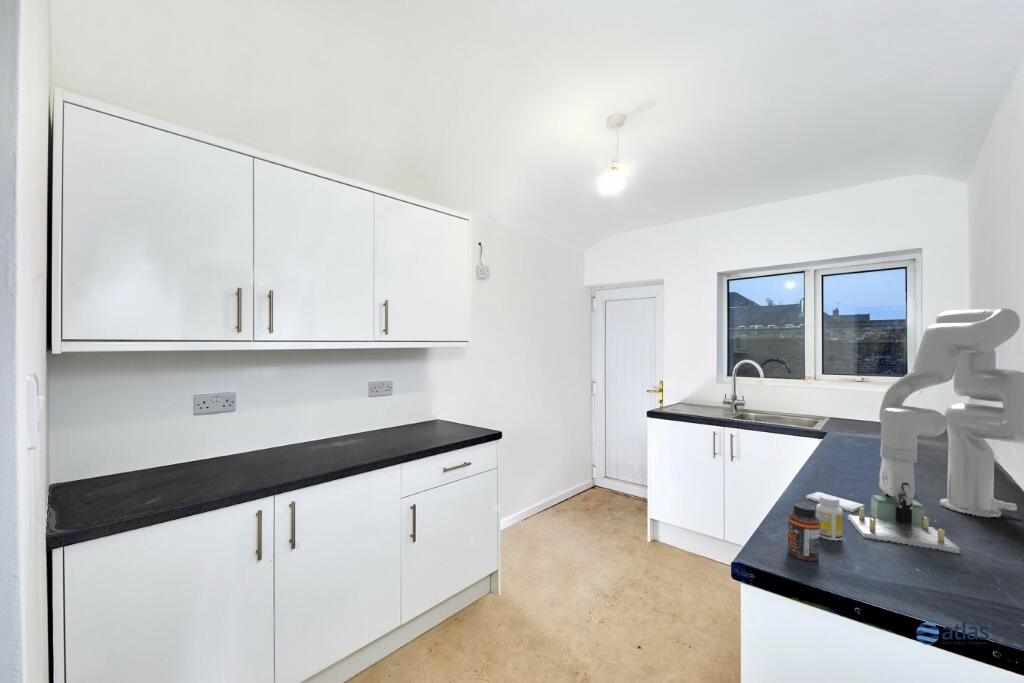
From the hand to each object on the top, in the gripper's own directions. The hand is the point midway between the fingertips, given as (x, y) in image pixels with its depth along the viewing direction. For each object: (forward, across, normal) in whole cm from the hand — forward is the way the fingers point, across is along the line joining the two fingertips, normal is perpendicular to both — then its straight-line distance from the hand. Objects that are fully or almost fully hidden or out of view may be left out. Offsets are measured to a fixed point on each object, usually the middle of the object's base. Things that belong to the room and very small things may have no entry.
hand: (896, 516), depth 120 cm
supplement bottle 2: (+2, +21, -20) cm, 29 cm away
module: (+1, 0, 0) cm, 1 cm away
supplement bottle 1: (+1, +36, -28) cm, 46 cm away
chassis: (+1, +11, -3) cm, 11 cm away
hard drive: (+2, -9, -12) cm, 15 cm away
